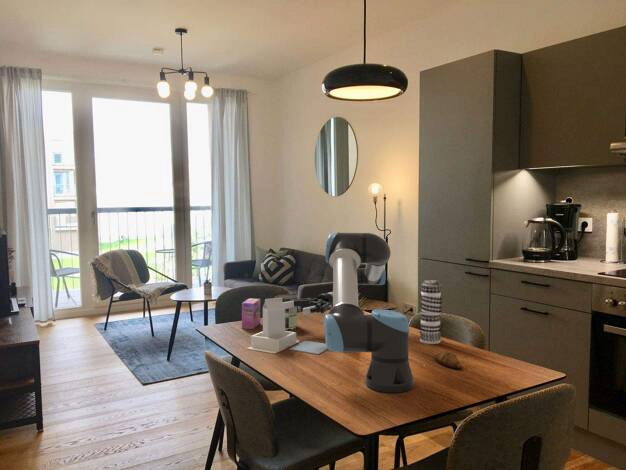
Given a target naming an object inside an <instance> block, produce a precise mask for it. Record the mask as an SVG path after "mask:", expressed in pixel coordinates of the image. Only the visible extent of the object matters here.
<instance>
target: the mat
mask: <svg viewBox="0 0 626 470" xmlns="http://www.w3.org/2000/svg"><path fill="white" fill-rule="evenodd" d="M288 350H289V351H293V352H294V351H295V352H300V353H305V354H311V355H321V354H322V353H324V352H326V351H327V350H328V348H327V346H326V343H322V342H317V341H311V340H304V341H302V342H299V343H298V344H295V345H293V346H291V347H290V348H288ZM328 351H329V350H328Z"/></svg>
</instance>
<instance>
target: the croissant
mask: <svg viewBox="0 0 626 470" xmlns="http://www.w3.org/2000/svg"><path fill="white" fill-rule="evenodd" d="M433 357H434V358H433V359H434V360H435V361H436V362H438V363H439V364H441V365H442V366H446V367H448V368H450V367H451V369H454V368H456V369H455V370H461V368H462V364H461V362H460V360H459V358H458V357H457V355H456V354H455V353H454V352H451V351H443V352H438V353H435V354H434V356H433Z"/></svg>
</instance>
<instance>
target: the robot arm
mask: <svg viewBox="0 0 626 470" xmlns="http://www.w3.org/2000/svg"><path fill="white" fill-rule="evenodd" d="M326 238H327V239H326V243H325V244H326V246H325V262H326V263H327V264H329V266H330V267H331V269H332V270H333V271H332V276H333V277H332V291H330V292H324V293H321V294H319V295H318V297H317V298H315V297H314V298H312V297H307V298H306V297H305V298H297V299H291V300H290V301H289V302H284V303H283V304H284V308H285V309H288V308H293V307H294V306H297V307H303V308H302V315H303V316H307V315H311V314H315V313H321V314H324V313H326V312H327V311H328V313H326V314H325V315H324V316H323V330H324V339H325V344H326V346H327V348H328V351H330V352H335V353H336V352H337V353H371V358H370V362H369V366H368V368H367V372H366V375H365V385H366V387H368V388H369V389H371V390H374V391H377V392H381V393H388V394H390V393H393V394H394V393H395V394H397V393H404V392H409V391H410V390H413V388H414V386H415V385H414V384H415V382H414V381H415V380H414V376H413V375H414V374H413V371H412V369H411V368H412V367H411V366H410V361H409V341H410V340H409V334H410V325H409V319H408V316H406V315H405V313H402V312H399V311H395V310H389V309H382V308H381V309H380V308H379V309H372V311H371V314H364V311H363V309H362V308H361V307H360V305H359V288H358V286H361V285H363V286H383V285H385V284H386V269H385V266H386V264H387V263H388V262H389V260H390V259H391V247H390V245H389V244H388V243H387V241H386V240H385V239H383V238H382V237H381V236H379V235H377V234H374V233H371V232H339V231H338V232H331V233H330V234H329V235H328V236H327V237H326ZM362 264H365V267H360V266H361V265H362Z"/></svg>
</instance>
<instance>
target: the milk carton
mask: <svg viewBox="0 0 626 470" xmlns="http://www.w3.org/2000/svg"><path fill="white" fill-rule="evenodd" d="M262 331H263V337H267V338H273V339H280V338H282V337H284V336H285V331H286V330H285V308H284V304H283V301H282V298H275V297H274V298H265V299H264V304H263V306H262Z"/></svg>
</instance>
